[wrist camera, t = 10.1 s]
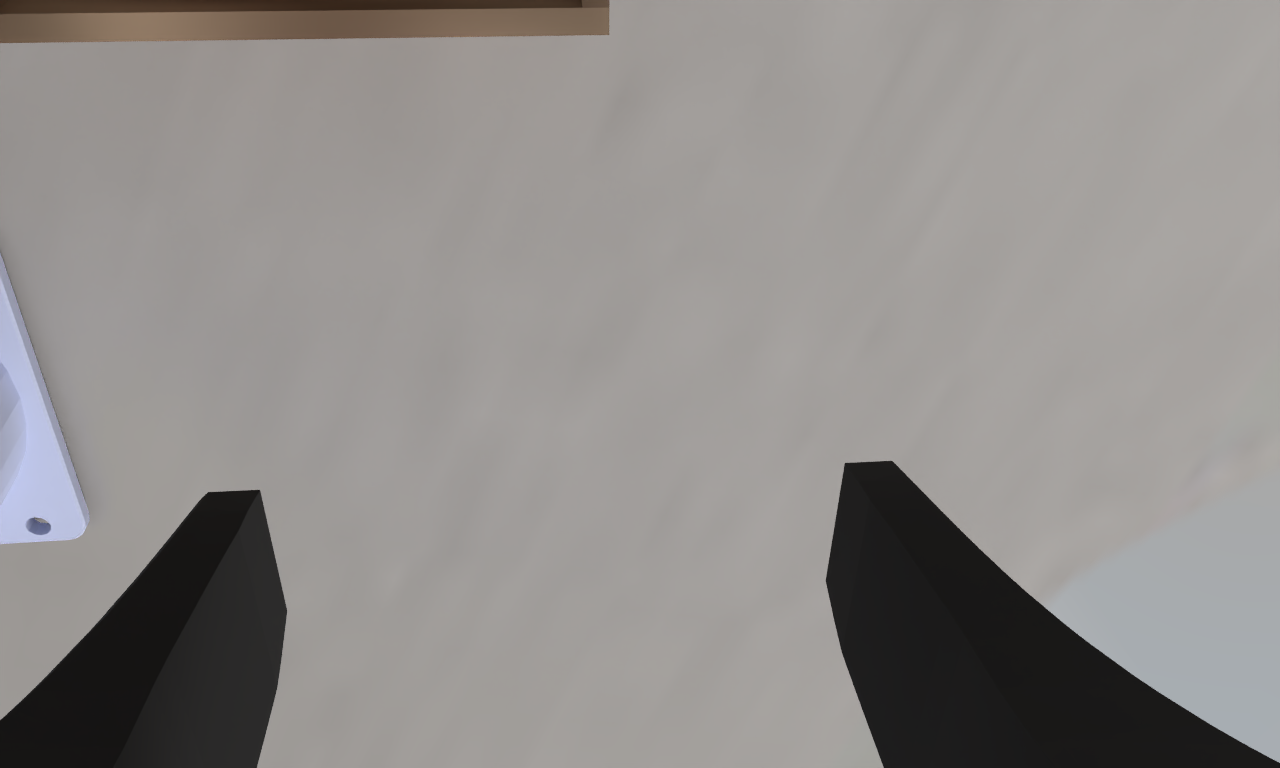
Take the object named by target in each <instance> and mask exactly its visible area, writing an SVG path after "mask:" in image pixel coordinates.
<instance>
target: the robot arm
mask: <svg viewBox="0 0 1280 768" xmlns="http://www.w3.org/2000/svg"><path fill="white" fill-rule="evenodd" d="M34 517H37V518H42V519H44V520H46V521H48V523H40V522H38V521H37V520H35V519H34ZM89 520H90V518H89V511H88V508H87V506H86V503H85V500H84V497H83V494H82V491H81V488H80V485H79V482H78V479H77V476H76V473H75V470H74V467H73V464H72V462H71V459H70V456H69V453H68V450H67V447H66V444H65V441H64V438H63V435H62V432H61V429H60V426H59V423H58V420H57V418H56V415H55V412H54V409H53V406H52V403H51V400H50V397H49V394H48V391H47V388H46V385H45V382H44V379H43V376H42V374H41V371H40V368H39V365H38V362H37V359H36V356H35V353H34V350H33V347H32V344H31V341H30V338H29V335H28V332H27V330H26V327H25V324H24V321H23V318H22V315H21V312H20V309H19V306H18V303H17V300H16V297H15V294H14V291H13V288H12V286H11V283H10V280H9V277H8V274H7V271H6V268H5V265H4V262H3V259H2V256H1V253H0V544H8V543H25V542H42V541H59V540H70V539H75V538H78V537H79V536H81V535H82V534H83V533H84V531H85V529H86V527H87V525H88V522H89ZM826 584H827V588H828V593H829V598H830V602H831V607H832V612H833V616H834V621H835V625H836V629H837V633H838V638H839V642H840V646H841V650H842V654H843V657H844V659H845V662H846V665H847V668H848V671H849V674H850V676H851V679H852V682H853V685H854V687H855V690H856V693H857V696H858V699H859V701H860V704H861V707H862V710H863V712H864V715H865V718H866V720H867V723H868V726H869V729H870V731H871V734H872V737H873V739H874V742H875V745H876V747H877V750H878V753H879V756H880V758H881V761H882V764H883V766H884V768H1280V763H1279V762H1277V761H1275V760H1273V759H1271V758H1269V757H1267V756H1265V755H1263V754H1262V753H1260V752H1258V751H1256V750H1254V749H1252V748H1250V747H1248V746H1247V745H1245V744H1243V743H1241V742H1239V741H1238V740H1236V739H1234V738H1233V737H1231V736H1229V735H1227V734H1226V733H1224V732H1222V731H1220V730H1218V729H1217V728H1215V727H1213V726H1212V725H1210V724H1208V723H1207V722H1205V721H1204V720H1202V719H1200V718H1199V717H1197V716H1195V715H1194V714H1192V713H1191V712H1189V711H1188V710H1186V709H1184V708H1183V707H1181V706H1179V705H1178V704H1176V703H1175V702H1173V701H1171V700H1170V699H1168V698H1167V697H1165V696H1164V695H1162V694H1160V693H1159V692H1157V691H1156V690H1154V689H1153V688H1151V687H1150V686H1148V685H1147V684H1145V683H1144V682H1142V681H1141V680H1139V679H1138V678H1136V677H1135V676H1134V675H1132V674H1131V673H1129V672H1128V671H1127V670H1125V669H1124V668H1122V667H1121V666H1120V665H1118V664H1117V663H1116V662H1114V661H1113V660H1111V659H1110V658H1109V657H1107V656H1106V655H1104V654H1103V653H1102V652H1100V651H1099V650H1098V649H1096V648H1095V647H1093V646H1092V645H1091V644H1089V643H1088V642H1087V641H1085V640H1084V639H1083V638H1082V637H1080V636H1079V635H1078V634H1076V633H1075V632H1074V631H1072V630H1071V629H1070V628H1069V627H1067V626H1066V625H1065V624H1064V623H1063V622H1061V621H1060V620H1059V619H1058V618H1057V617H1055V616H1054V615H1053V614H1052V613H1051V612H1049V611H1048V610H1047V609H1046V608H1045V607H1044V606H1042V605H1041V604H1040V603H1039V602H1038V601H1036V600H1035V599H1034V598H1033V597H1032V596H1030V595H1029V594H1028V593H1027V592H1026V591H1025V590H1023V589H1022V588H1021V587H1020V586H1019V585H1018V584H1017V583H1016V582H1015V581H1013V580H1012V579H1011V578H1010V577H1009V576H1008V575H1007V574H1006V573H1005V572H1003V571H1002V570H1001V569H1000V568H999V567H998V566H997V565H996V564H995V563H994V562H993V561H992V560H991V559H990V558H989V557H988V556H987V555H985V554H984V553H983V552H982V551H981V550H980V549H979V548H978V547H977V546H976V545H975V544H974V543H973V542H972V541H971V540H970V539H969V538H968V537H967V536H966V535H965V534H964V533H963V532H962V531H961V530H960V529H959V528H958V527H957V526H956V525H955V524H954V523H953V522H952V521H951V520H950V519H949V518H948V517H947V516H946V515H945V514H944V513H943V512H942V511H941V510H940V509H939V508H938V507H937V506H936V505H935V504H934V503H933V502H932V501H931V500H930V499H929V498H928V497H927V496H926V495H925V494H924V493H923V492H922V491H921V490H920V489H919V488H918V487H917V486H916V485H915V484H914V483H913V482H912V481H911V480H910V479H909V478H908V477H907V476H906V474H905V473H904V472H903V471H902V470H901V469H900V468H899V467H898V466H897V465H896V464H895V463H894V462H893V461H880V462H859V463H845V466H844V472H843V478H842V485H841V491H840V497H839V503H838V509H837V515H836V521H835V527H834V534H833V540H832V546H831V552H830V558H829V564H828V570H827V577H826ZM286 615H287V608H286V604H285V600H284V595H283V591H282V586H281V582H280V577H279V573H278V568H277V564H276V559H275V555H274V551H273V546H272V542H271V537H270V533H269V528H268V524H267V519H266V515H265V511H264V506H263V502H262V497H261V493H260V490H248V491H226V492H208V493H207V494H206V495H205V496H204V497H203V498H202V499H201V500H200V501H199V502H198V503H197V505H196V506H195V507H194V508H193V509H192V511H191V512H190V513H189V514H188V516H187V517H186V518H185V519H184V521H183V522H182V523H181V524H180V526H179V527H178V528H177V529H176V531H175V532H174V533H173V534H172V536H171V537H170V538H169V539H168V541H167V542H166V543H165V544H164V545H163V547H162V548H161V549H160V550H159V552H158V553H157V554H156V555H155V556H154V558H153V559H152V560H151V561H150V562H149V564H148V565H147V566H146V567H145V569H144V570H143V571H142V572H141V573H140V575H139V576H138V577H137V578H136V579H135V580H134V582H133V583H132V584H131V585H130V586H129V587H128V588H127V590H126V591H125V592H124V593H123V594H122V595H121V596H120V598H119V599H118V600H117V601H116V602H115V603H114V605H113V606H112V607H111V608H110V609H109V610H108V611H107V613H106V614H105V615H104V616H103V617H102V618H101V619H100V621H99V622H98V623H97V624H96V625H95V626H94V627H93V628H92V629H91V630H90V632H89V633H88V634H87V635H86V636H85V637H84V638H83V639H82V640H81V641H80V642H79V643H78V644H77V645H76V646H75V647H74V648H73V649H72V650H71V651H70V652H69V653H68V654H67V656H66V657H65V658H64V659H63V660H62V661H61V662H60V663H59V664H58V665H57V666H56V667H55V668H54V669H53V670H52V671H51V672H50V673H49V674H48V675H47V676H46V677H45V678H44V679H43V680H42V681H41V682H40V683H39V684H38V685H37V686H36V687H35V688H34V689H33V690H32V691H31V692H30V693H29V694H28V695H27V696H26V697H25V698H24V699H23V700H22V701H21V702H20V703H19V704H18V705H16V706H15V707H14V708H13V709H12V710H11V711H10V712H9V713H8V714H7V715H6V716H5V717H4V718H2V719H1V720H0V768H257V764H258V760H259V757H260V753H261V749H262V745H263V741H264V737H265V734H266V730H267V726H268V722H269V718H270V714H271V710H272V706H273V702H274V698H275V694H276V690H277V685H278V678H279V671H280V664H281V657H282V649H283V640H284V632H285V624H286Z"/></svg>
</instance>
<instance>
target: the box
mask: <svg viewBox="0 0 1280 768" xmlns="http://www.w3.org/2000/svg"><path fill="white" fill-rule="evenodd" d="M562 35H609V0H0V43H37V42H112V41H187V40H262V39H337V38H412V37H487V36H562Z"/></svg>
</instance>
